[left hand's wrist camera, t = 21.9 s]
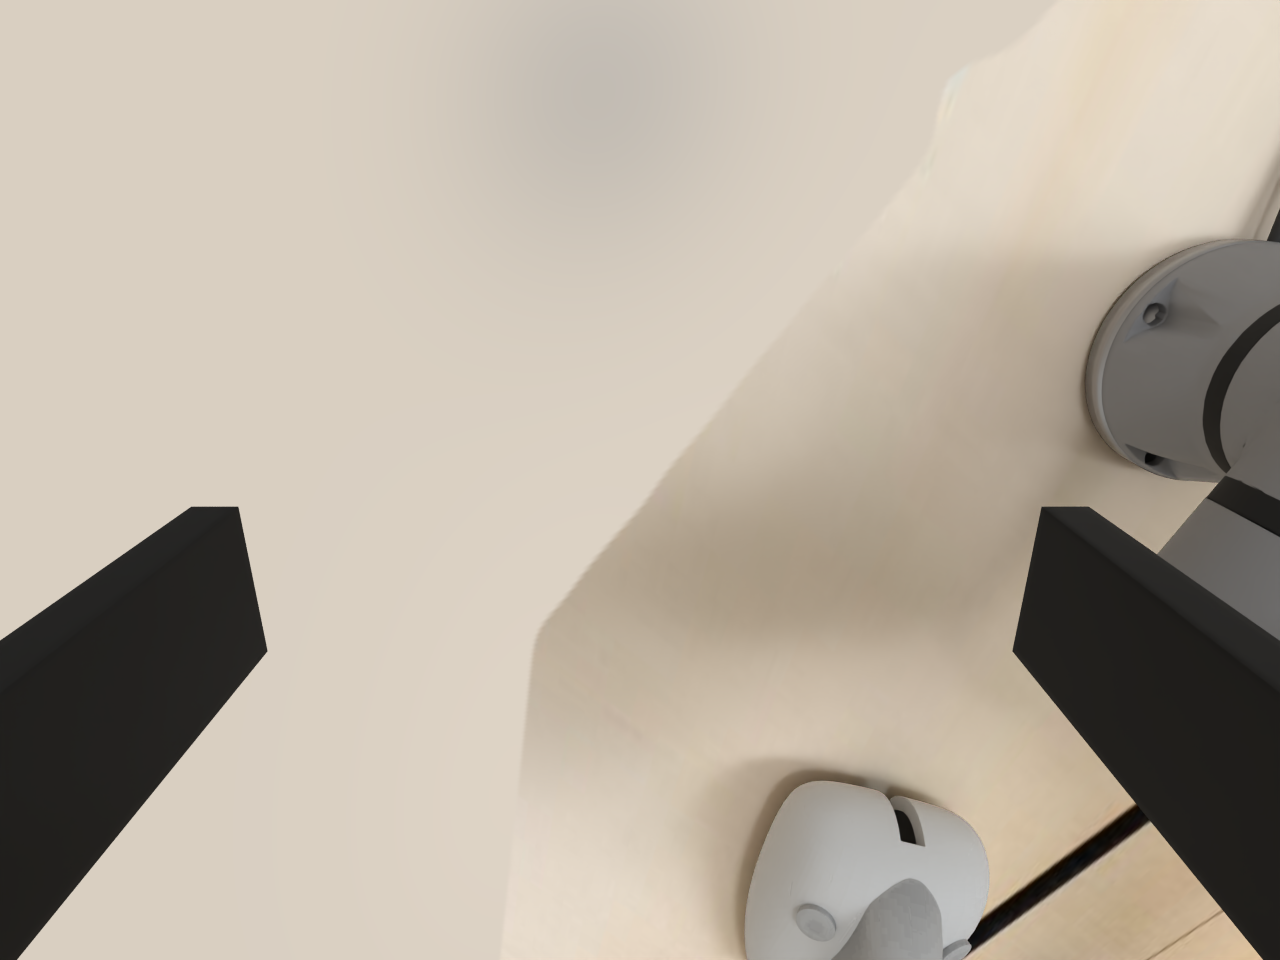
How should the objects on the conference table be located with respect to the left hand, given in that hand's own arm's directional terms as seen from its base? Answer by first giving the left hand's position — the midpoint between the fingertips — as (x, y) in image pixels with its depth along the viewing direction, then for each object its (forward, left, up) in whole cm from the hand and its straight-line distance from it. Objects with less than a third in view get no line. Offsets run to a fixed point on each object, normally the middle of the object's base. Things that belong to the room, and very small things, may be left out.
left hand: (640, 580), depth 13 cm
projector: (+51, +5, -38) cm, 64 cm away
